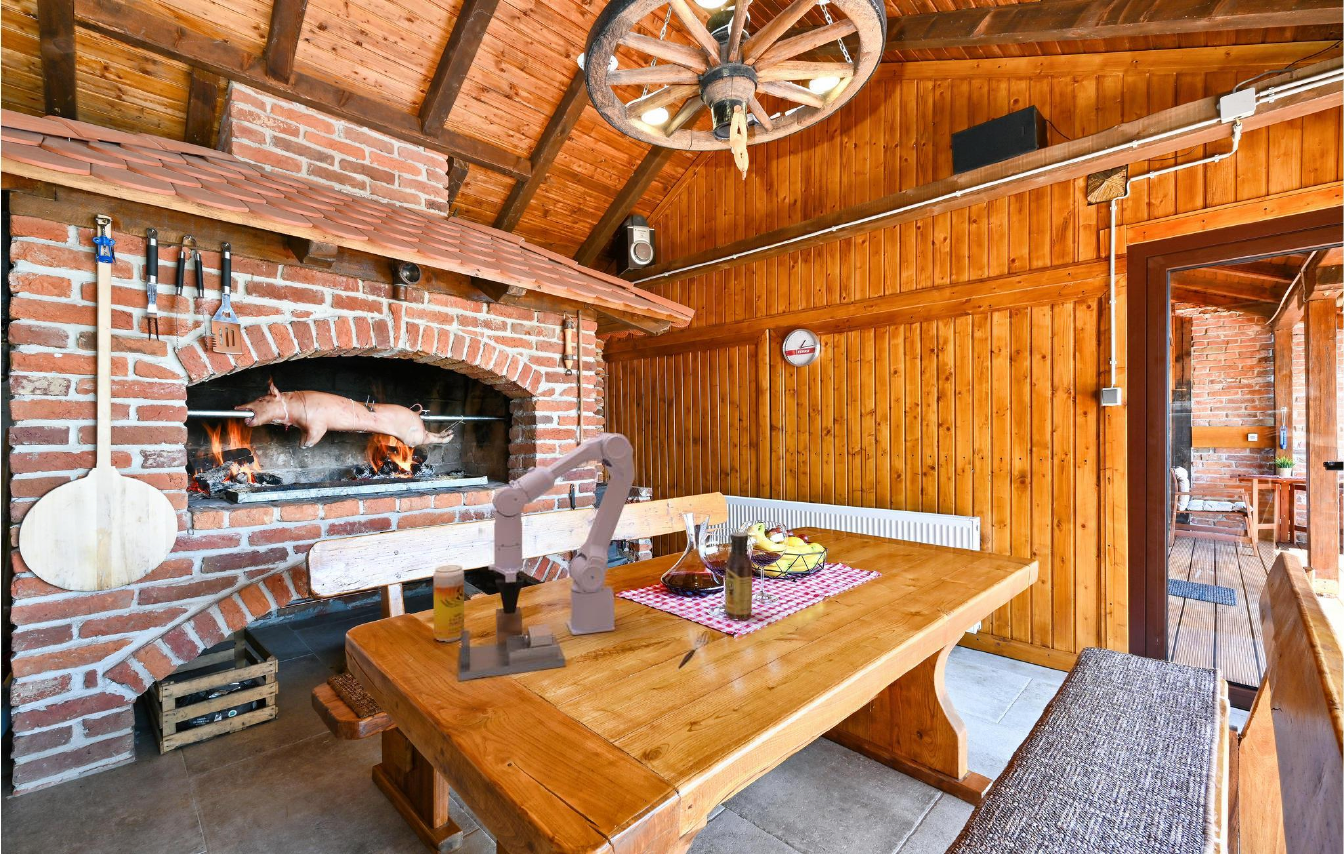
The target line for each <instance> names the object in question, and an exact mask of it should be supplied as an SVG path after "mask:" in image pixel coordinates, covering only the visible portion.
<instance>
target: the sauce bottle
mask: <svg viewBox="0 0 1344 854" xmlns="http://www.w3.org/2000/svg"><path fill="white" fill-rule="evenodd" d="M730 541H731V542H730V545H731V546H730V547H731V549H730V553H729V556H728V559H727V562H726V564H725V588H724V589H725V590H724V592H725V597H724V598H725V601H724V602H725V603H724V604H725V605H724V608H725V616H726V617H727V618H728V617H729V618H728V619H730V620H732V619H738V620H737V621H744V620H743V619H747V620H749V619H750V618H751V616H752V611H753V609H752V608H753V605H752V603H753V573H752V571H753V568H752V567H753V562H752V560H751V557H750V556H749V554H748V550H749V549H748V542H749V534H748V533H747V532H740V531H739V532H737V531H735V532H732V533H730Z"/></svg>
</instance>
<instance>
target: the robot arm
mask: <svg viewBox="0 0 1344 854" xmlns="http://www.w3.org/2000/svg"><path fill="white" fill-rule="evenodd" d="M633 455H634V448H633V446H632V445H631V443H630V440H628V438H627V437H626V436H625V435H624V434H621V433H616V432H615V433H610V432H602V433H599V434H597V435H596V436H595V437H592V438H590V439H589V438H588V439H587V440H585V441H584V442H582V443H581V444H579V445H578V446H576V447H575V448H573V449H572V450H571V451H569V452H567V454H565V455H563V456H562V457H561V458H559V459H557V460H556V461H555V462H553V463H552V464H551V465H549V466H547V467H545V466H543V465H538V466H536V467H535V466H531V467H529V468H527V471H528V472H527V473H525V474H524V475H521V476H520V477H519V478H517V479H515V480H513V479H511V480H510V481H508V483H509V486H502V487H499V488H498V489H497V490H496V491H495V494H494V495H493V498H492V499H491V502H492V505H493V507H494V508H495V513H494V523H493V525H494V526H493V527H494V528H493V529H494V534H493V535H494V536H493V539H494V541H493V542H494V544H493V545H494V548H493V549H494V550H493V551H494V553H493V555H494V556H493V557H494V558H493V559H494V561H493V562H494V563H492V564H488V571H493V573H494V576H495V578H496V579H495V585H496V586H497V587H496V588H497V589H498V591H499V593H500V599H501V603H502V608H503V609H504V613H505V614H510V613H515V611H516V607H518V602H519V597H520V592H521V589H522V587H524V583H525V579H524V578H519V579H518V576H519V575H520V572H521V570H523V568H524V562H523V521H522V511H523V510H524V509H525V506H526V505H527V504H531V503H532V502H534V501H535V500H537V499H538V498H540V497H542V496H543V495H544V494H546V493H547V492H549V491H551V490H552V489H553V488H554V486H555V482H556V480H557V479H559V478H561V477H562V476H564V475H566V474H567V473H569V472H571V471H572V470H574V469H576V468H578V467H579V466H581V465H583V464H585V463H586V462H598V461H599V462H601V463H602V464H604V466H605V468H606V470H607V472H608V474H609V477H610V478H609V481H608V483H607V486H606V489H605V490H604V491H605V492H603V493H604V494H603V496H602V499H601V502H600V504H599V507H598V509H597V512H596V515H595V517H594V520H593V522H592V525H591V528H590V530H589V533H588V535H587V538H586V541H585V542H584V543H583V544H582V545H581V546H580V548H579V550H578V552H577V554H576V555H575V556H574V557H573V558H572V560H571V561H570V563H569V565H568V573H569V576H570V577H571V578H572V580H573V581H572V583H571V585H570V620H568V621H566V625H567V628H568V630H569V632H570V633H571V635H572V636H578V635H585V634H586V635H587V634H593V633H594V634H595V633H601V632H602V633H603V632H610V631H616V627H615V596H614V591H613V590H614V589H613V588H612V586H611V585H610V586H609V585H606V586H605V585H604V584H605V582H606V578H607V571H606V570H607V569H606V568H607V565H608V562H609V558H608V549H609V547H610V544H611V542H612V538H613V537H614V534H615V531H616V528H617V525H618V523H619V520H620V518H621V515H622V512H623V511H624V508H625V505H626V502H627V499H628V497H629V494H630V491H631V489H632V486H633V483H634V480H635V476H636V471H635V465H634V464H635V463H634V458H633Z"/></svg>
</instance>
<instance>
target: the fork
mask: <svg viewBox="0 0 1344 854" xmlns="http://www.w3.org/2000/svg"><path fill="white" fill-rule="evenodd" d="M699 633H700V631H698V632H697V634H696V638H695V640H694V642H693V645H700V644H706V645H707V642H708V638H709V634H710V632H708V633H707V635H706V633H704V634H703V632H701V634H700V636H699ZM702 634H703V637H702ZM705 636H706V638H705ZM698 638H699V639H698ZM701 638H702V639H701ZM698 649H700V647H699V646H693V649H692V650H690V651H689V652H688V653H687V654H686V655H685V656H684V657H683V659H682V661H681V662H680V663H679V666H678V669H681V668H682V667H683V666H684V665H685V664H686V663H687V662H689V661H690V658H691V659H692V657H693V656H694V654H693V653H695V652H696V650H698ZM694 651H695V652H694ZM692 655H693V656H692Z"/></svg>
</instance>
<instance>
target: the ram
mask: <svg viewBox="0 0 1344 854" xmlns="http://www.w3.org/2000/svg"><path fill="white" fill-rule="evenodd" d="M551 631H552V630H551V629H550V626H549V624H548V623H546V624H538V625H529V626H527V634H522V635H523V643H524V648H525V647H529V648H536V647H544V646H552V633H553V632H552V633H551Z"/></svg>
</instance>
